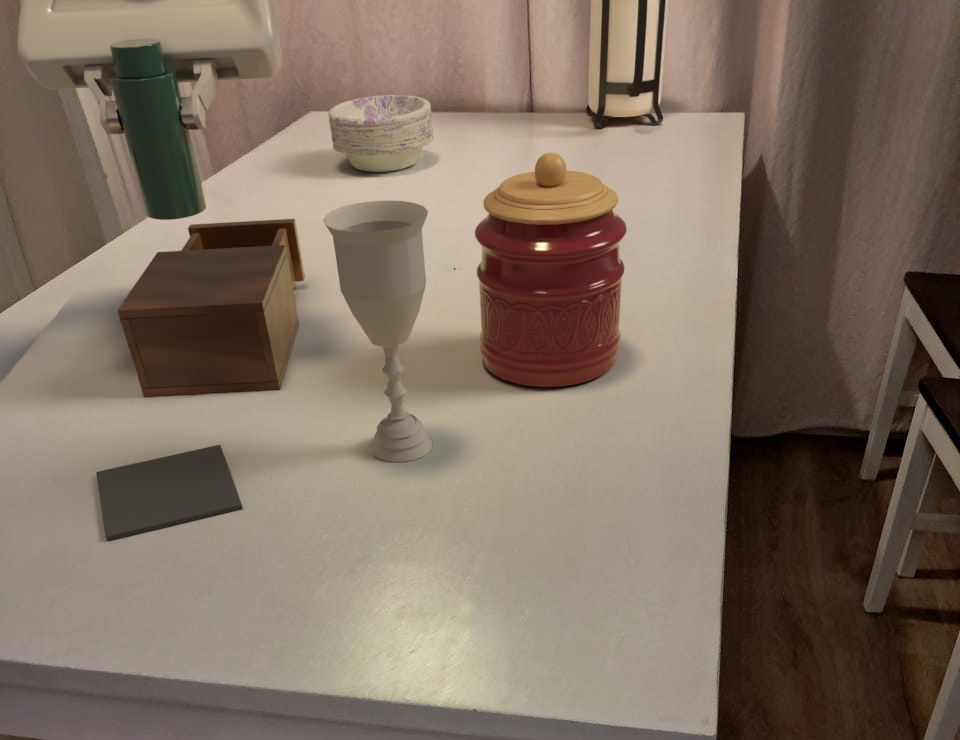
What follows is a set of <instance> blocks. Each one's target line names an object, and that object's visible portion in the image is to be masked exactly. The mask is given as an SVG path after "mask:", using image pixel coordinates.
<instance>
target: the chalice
mask: <svg viewBox="0 0 960 740" xmlns="http://www.w3.org/2000/svg"><path fill="white" fill-rule="evenodd" d="M428 212H429V210H428V209H427V208H426V207H425V206H423V205H422V204H418V203H416V202H412V201H405V200H371V201H365V202H364V201H363V202H358V203H352V204H349V205H344V206H341V207H339V208H336V209H334V210H331V211H329V212H328V213H326V214H325V215H324V217H323V219H322V222H323V224H324V225H325V227H326V228H327V230H328V231H329V233H330V235H331V236H332V239H333V247H334V254H335V260H336V268H337V273H338V274H337V276H338V282H339V288H340V292H341V294H342V296H343V298H344V300H345V301H346V304H347V306H348V308H349V310H350V312H351V315H353V317H354V319H355V320H356V322H357V323H358V325H359V326H360V328H361V329H362V331H363V332H364V333H365V335H366V337H367V338H368V340H369V341H370V343H371V344H372V345H374V346H376V347H382V350H383V352H384V356H385V358H384V366H383V367H382V369H381V370H382V373H384V374H385V376H386V379H387V381H388V382H387V387H386V389H384V391H383V395H385V396H386V397H388V400H389V403H390V412H389V413H388V414H387V415H385V416H384V417H382V419H381V420H380V422H379V423H378V424H377V426H376V431H375V433H374V436H373V442H372V443H371V445H370V446H371V447H370V451H371V453H372V455H373V456H374V457H376V458H377V459H378V460H382V461H385V462H391V463H404V462H410V461H414V460H418V459H419V458H423V457H424V456H425V455H427V454H428V453H430V451H431V450H432V448H433V441H432V439H431V437H430V436H429V435H428V432H427V430H426V428H425V427H424V426H423V423H422V421H421V420H420V419H419V418H417V416H416V415H414V414H412V413H409V412H408V411H406V409H405V406H404V396H405V395H406V393H408V389H407V388H406V387H404V386H403V384H402V381H401V377H402V373H403V371H404V368H405V367H404V366H403V365H402V364H401V361H400V358H399V355H398V349H399V346H400V345H403V344H405V343H406V342H407V341H408V340H409V338H410V336H411V333H412V330H413V328H414V327H415V323H416V320H417V318H418V315H419V313H420V310H421V306H422V301H423V297H424V293H425V289H426V283H427V276H426V264H425V253H424V242H423V241H424V240H423V239H424V238H423V228H424V225H425V223H426V220H427V218H428Z"/></svg>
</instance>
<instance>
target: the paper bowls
mask: <svg viewBox="0 0 960 740" xmlns="http://www.w3.org/2000/svg"><path fill="white" fill-rule="evenodd" d="M327 116H328V122H329V129H330V134H331V142H332V149H333V150H334V151H335V152H339V153H341V154H344V155H345V156H346V158H347V159H348V161H349V163H350V164H351V166H352V167H354V168H355V169H357V170H359V171H363V172H367V173H368V172H369V173H387V172H388V173H389V172H394V171H395V172H396V171H401V170H403V169H406V168H409V167H411V166H413V165H415V164H416V163H417V162H418V161H419V160H420V158H421V154H422V151H423V148H424V147H426V146H427V145H430V144H431V143H432V142H433V141H434V125H433V115H432V105H431V102H430V101H429V100H428V99H426V98H424V97H421V96H420V97H419V96H417V95H416V96H415V95H409V94H408V95H406V94H384V95H383V94H382V95H371V96H363V97H359V98H358V97H357V98H353V99H350V100H346V101H343V102H340V103H337V104H336V105H334V106H332V107H331V108H330V109H329V111H328V114H327Z"/></svg>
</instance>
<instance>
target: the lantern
mask: <svg viewBox="0 0 960 740" xmlns="http://www.w3.org/2000/svg"><path fill="white" fill-rule="evenodd" d="M669 2H670V1H669V0H590V18H589V19H590V22H589V53H588V88H587V89H588V91H587V93H588V94H587V97H588V98H587V102H588V103H587V105H586V108H585V113H586V114H587V115H588V116H592V115H595V116H594V119H593V123H592V124H593V127H594V128H595V129H604V128H605V127H606V124H607V122H608V120H609V119H611V118H628V117H629V118H631V117H639V116H642V117H645V118H647V119H648V120H649V122H650V123H651V125H653V126H657V125H661V124H662V123H663V121H664V116H663V114H662V113H663V112H662V111H661V108H660V104H661V101H662V91H663V79H664V67H665V66H664V65H665V53H666V40H667V29H668V13H669ZM653 112H654V113H655V115H656V118H657V119H656V118H655V117H654V115H653V114H651V113H653Z"/></svg>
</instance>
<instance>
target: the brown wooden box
mask: <svg viewBox="0 0 960 740" xmlns="http://www.w3.org/2000/svg"><path fill="white" fill-rule="evenodd" d="M116 312H117V314H118V318H119V319H120V320H119V321H120V324H121V327H122V331H123V334H124V337H125V340H126V344H127V346H128V350H129V353H130V357H131V359H132V363H133V366H134V369H135V372H136V375H137V379H138V383H139V385H140V388H141V392H142V395H143V397H161V396H179V395H198V394H199V395H200V394H217V393H219V394H220V393H235V392H237V393H238V392H255V391H256V392H257V391H271V390H272V391H274V390H281V387H282V383H283V380H284V377H285V374H286V371H287V367H288V363H289V360H290V357H291V354H292V350H293V348H294V344H295V341H296V337H297V334H298V331H299V328H300V321H299V316H298V315H299V314H298V310H297V304H296V299H295V294H294V289H293V287H292V281H291V276H290V270H289V265H288V259H287V254H286V248H285V245H276V246H258V247H240V248H222V249H204V250H186V251H181V250H172V251H171V250H169V251H157V252H156V254H155V255H154V256H153V258H152V260H151V261H150V262H149V264H148V265H147V267H146V268H145V270H144V271H143V272H142V274H141V276H140V277H139V278H138V280H137V281H136V282H135V284H134V285H133V287H132V288H131V290H130V291H129V293H128V294H127V295H126V297H125V298H124V299H123V301H122V302H121V304H120V305H119V307H118V308H117V310H116Z"/></svg>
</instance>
